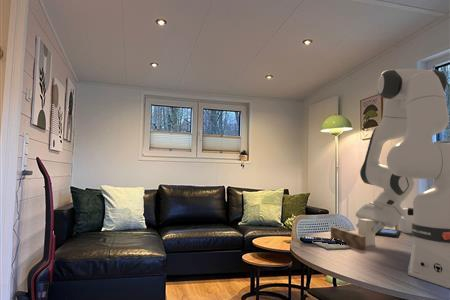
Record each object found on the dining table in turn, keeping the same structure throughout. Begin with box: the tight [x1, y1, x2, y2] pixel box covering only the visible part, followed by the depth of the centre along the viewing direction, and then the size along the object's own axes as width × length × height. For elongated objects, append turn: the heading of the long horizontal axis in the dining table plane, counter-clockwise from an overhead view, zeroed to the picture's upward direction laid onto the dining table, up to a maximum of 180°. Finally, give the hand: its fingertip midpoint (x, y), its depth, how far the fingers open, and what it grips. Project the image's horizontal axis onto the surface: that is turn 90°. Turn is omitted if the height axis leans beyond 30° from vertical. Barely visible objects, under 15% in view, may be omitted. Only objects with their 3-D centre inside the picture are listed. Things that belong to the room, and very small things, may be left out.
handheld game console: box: [375, 224, 402, 238], centre depth 153 cm, size 16×13×9 cm
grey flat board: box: [311, 239, 352, 251], centre depth 125 cm, size 12×10×1 cm
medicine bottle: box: [397, 207, 413, 234], centre depth 158 cm, size 7×7×12 cm
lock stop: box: [357, 218, 376, 247], centre depth 129 cm, size 4×4×10 cm
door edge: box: [330, 226, 366, 251], centre depth 129 cm, size 20×2×5 cm, turn 14°
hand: (365, 229), depth 129 cm, fingers open, 8 cm apart
